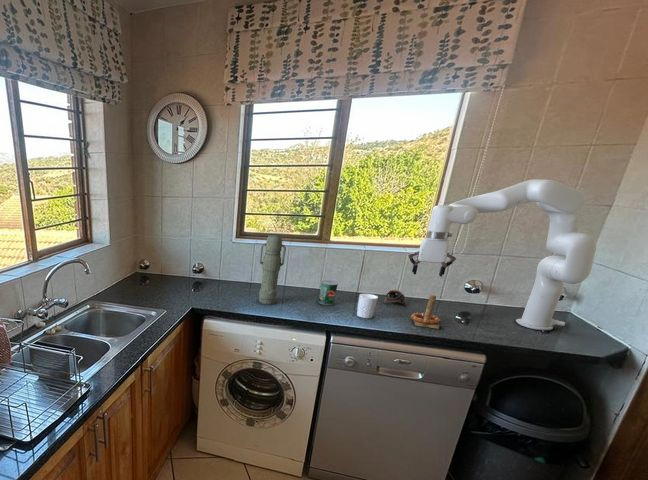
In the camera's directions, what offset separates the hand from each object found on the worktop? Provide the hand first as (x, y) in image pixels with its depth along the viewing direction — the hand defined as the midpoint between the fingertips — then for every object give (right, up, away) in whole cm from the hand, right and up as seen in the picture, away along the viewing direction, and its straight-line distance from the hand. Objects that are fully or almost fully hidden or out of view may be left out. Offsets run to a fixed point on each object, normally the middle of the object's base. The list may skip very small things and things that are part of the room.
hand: (427, 274), depth 177 cm
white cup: (-19, -18, +16) cm, 31 cm away
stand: (+4, -22, +6) cm, 23 cm away
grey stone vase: (-60, -10, +35) cm, 70 cm away
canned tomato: (-29, -10, +35) cm, 47 cm away
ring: (+3, -19, +6) cm, 20 cm away
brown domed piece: (+6, -11, +34) cm, 37 cm away
